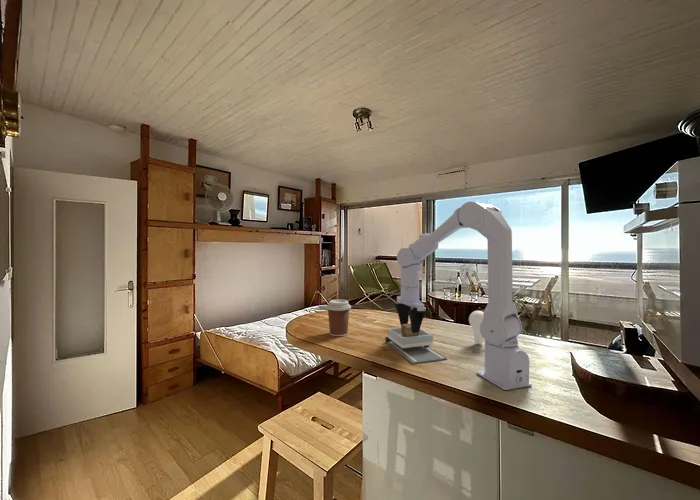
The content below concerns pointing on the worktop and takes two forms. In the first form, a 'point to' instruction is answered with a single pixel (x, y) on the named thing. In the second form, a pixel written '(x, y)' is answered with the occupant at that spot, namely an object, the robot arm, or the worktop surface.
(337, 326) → the coffee cup
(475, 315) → the lightbulb
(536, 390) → the worktop surface
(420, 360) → the track
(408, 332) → the block
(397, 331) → the white shallow tray
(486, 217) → the robot arm
